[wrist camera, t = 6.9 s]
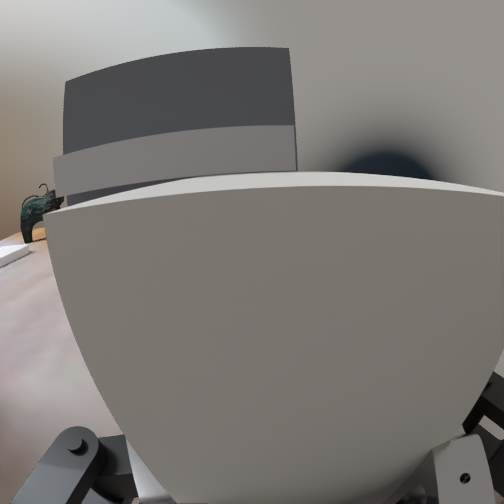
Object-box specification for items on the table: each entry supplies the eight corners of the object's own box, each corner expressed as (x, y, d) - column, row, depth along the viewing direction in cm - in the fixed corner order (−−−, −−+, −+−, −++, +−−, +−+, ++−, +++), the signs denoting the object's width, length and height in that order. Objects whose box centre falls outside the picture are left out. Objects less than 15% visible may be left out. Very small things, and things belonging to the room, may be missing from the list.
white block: (235, 556, 5) (42, 214, 1) (225, 402, 16) (198, 176, 12) (347, 537, 6) (538, 202, 2) (300, 394, 16) (306, 171, 12)
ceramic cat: (69, 232, 85) (63, 179, 79) (66, 235, 79) (59, 179, 73) (26, 241, 76) (19, 190, 70) (21, 245, 71) (13, 190, 65)
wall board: (83, 340, 22) (48, 73, 15) (110, 304, 30) (86, 91, 23) (306, 330, 24) (297, 33, 16) (288, 292, 32) (278, 66, 24)
